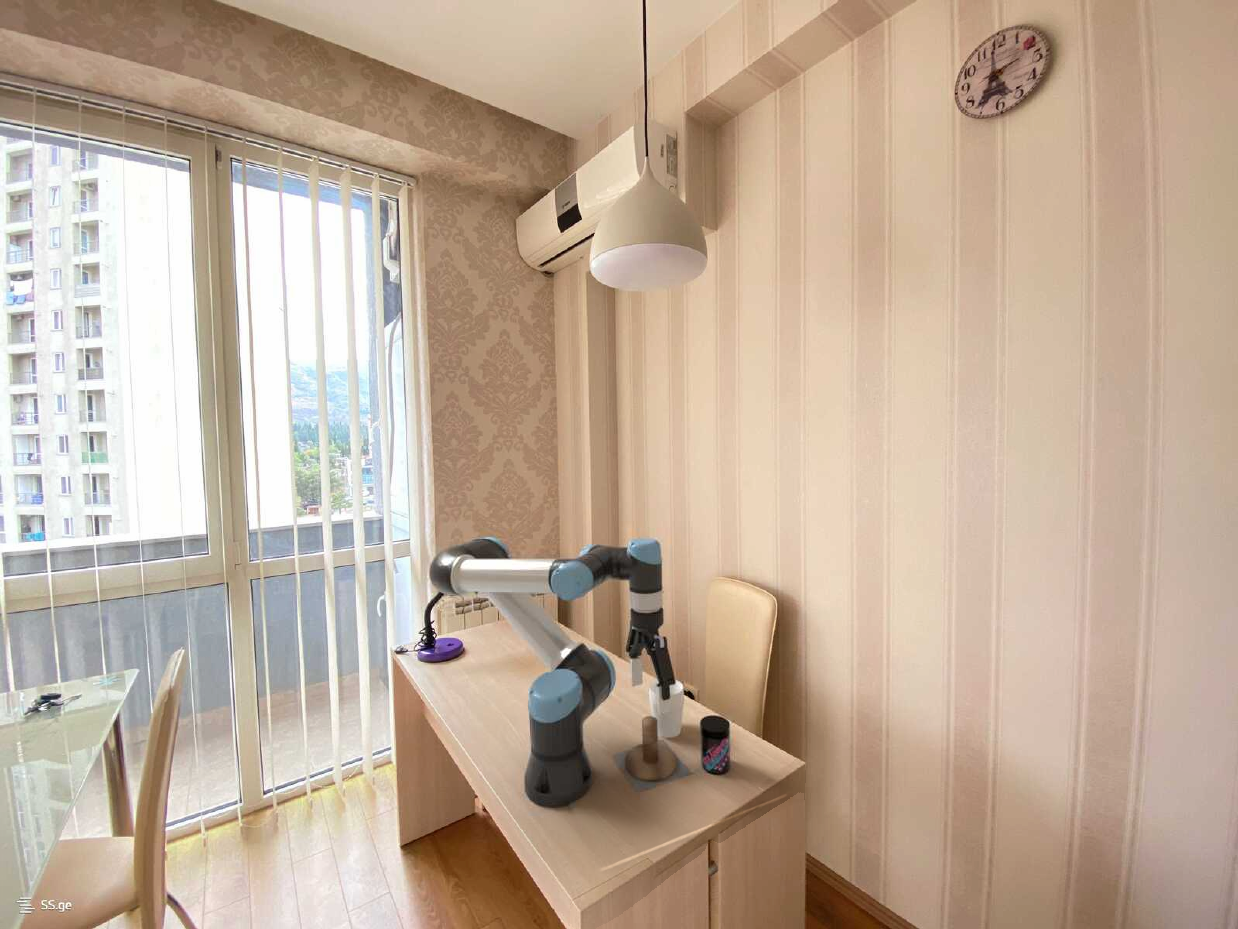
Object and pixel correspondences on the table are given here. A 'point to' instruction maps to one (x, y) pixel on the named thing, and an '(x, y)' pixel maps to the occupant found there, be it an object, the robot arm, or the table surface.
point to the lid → (650, 755)
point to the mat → (643, 785)
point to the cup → (670, 720)
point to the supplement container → (715, 744)
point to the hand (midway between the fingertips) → (649, 697)
